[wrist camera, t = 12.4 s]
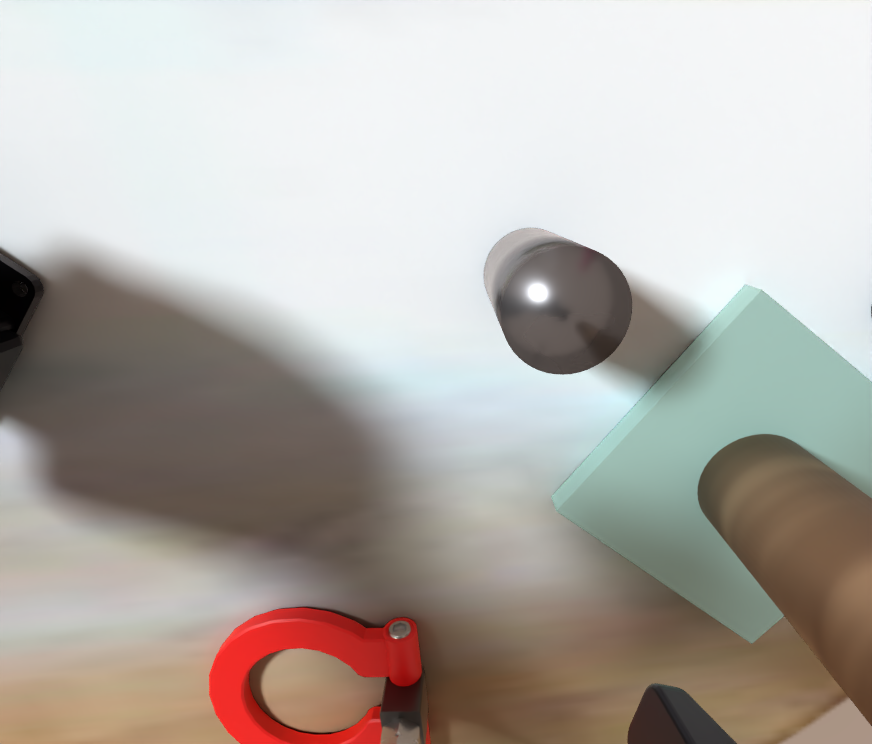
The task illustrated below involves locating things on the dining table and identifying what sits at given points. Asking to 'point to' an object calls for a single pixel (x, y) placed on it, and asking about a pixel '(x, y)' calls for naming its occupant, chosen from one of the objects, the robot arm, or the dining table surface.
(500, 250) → the post farther from pad
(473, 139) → the dining table surface
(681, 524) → the teal pad
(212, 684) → the tow hook
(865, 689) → the walnut dowel
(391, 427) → the dining table surface
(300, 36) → the dining table surface
